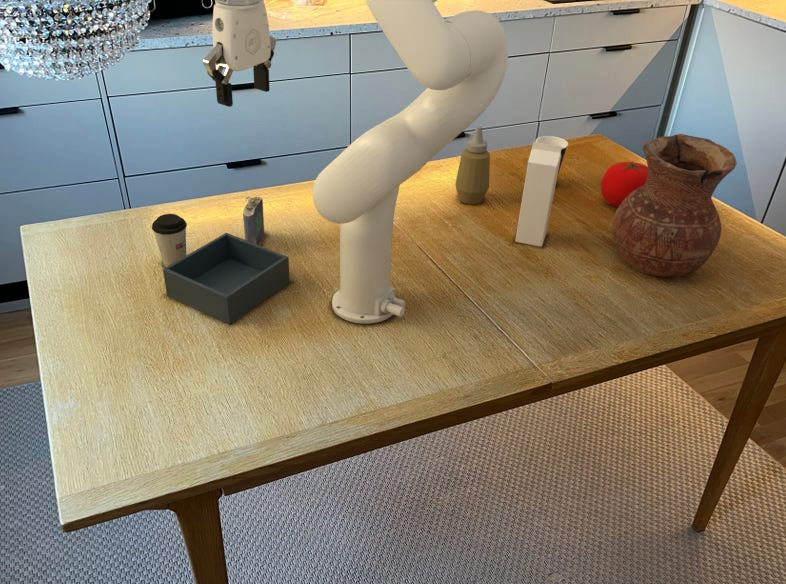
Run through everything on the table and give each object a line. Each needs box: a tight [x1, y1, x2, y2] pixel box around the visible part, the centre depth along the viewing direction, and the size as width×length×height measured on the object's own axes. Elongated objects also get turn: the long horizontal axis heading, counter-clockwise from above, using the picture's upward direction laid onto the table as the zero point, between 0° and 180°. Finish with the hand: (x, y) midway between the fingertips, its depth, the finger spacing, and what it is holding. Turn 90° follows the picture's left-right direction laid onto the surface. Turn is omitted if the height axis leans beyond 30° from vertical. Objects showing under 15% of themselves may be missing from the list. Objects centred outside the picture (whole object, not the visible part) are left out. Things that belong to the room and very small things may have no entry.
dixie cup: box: [534, 135, 569, 178], centre depth 189 cm, size 8×8×11 cm
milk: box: [514, 141, 562, 247], centre depth 163 cm, size 6×6×22 cm
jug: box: [611, 133, 738, 278], centre depth 155 cm, size 22×21×25 cm
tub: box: [162, 232, 291, 325], centre depth 149 cm, size 16×18×6 cm
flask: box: [242, 196, 266, 246], centre depth 162 cm, size 9×3×11 cm, turn 172°
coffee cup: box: [151, 213, 188, 268], centre depth 155 cm, size 7×7×10 cm
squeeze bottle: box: [454, 125, 491, 205], centre depth 179 cm, size 8×8×18 cm
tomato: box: [600, 160, 648, 209], centre depth 181 cm, size 12×12×10 cm
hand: (243, 97), depth 136 cm, fingers open, 9 cm apart
